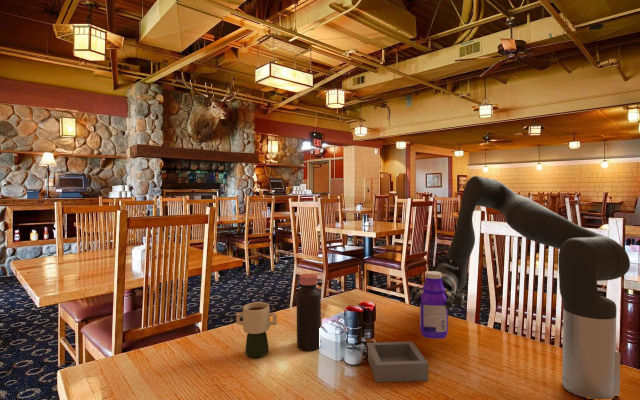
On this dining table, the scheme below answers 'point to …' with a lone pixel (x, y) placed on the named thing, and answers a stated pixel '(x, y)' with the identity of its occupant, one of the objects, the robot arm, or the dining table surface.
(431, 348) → the dining table surface
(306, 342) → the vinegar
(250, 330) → the character mug
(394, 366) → the grey square tray
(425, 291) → the bottle
